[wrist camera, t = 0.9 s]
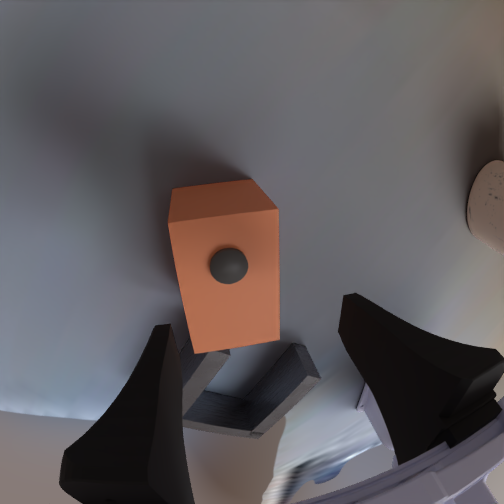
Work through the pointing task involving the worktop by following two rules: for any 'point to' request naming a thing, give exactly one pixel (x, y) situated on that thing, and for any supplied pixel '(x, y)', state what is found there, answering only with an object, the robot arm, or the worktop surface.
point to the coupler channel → (254, 404)
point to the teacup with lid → (488, 206)
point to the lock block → (227, 263)
